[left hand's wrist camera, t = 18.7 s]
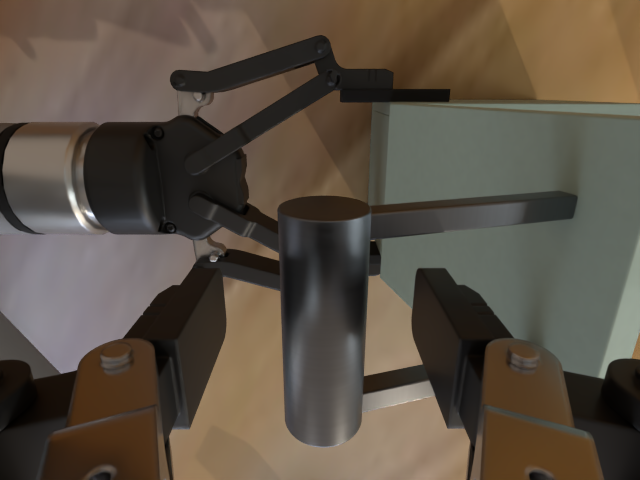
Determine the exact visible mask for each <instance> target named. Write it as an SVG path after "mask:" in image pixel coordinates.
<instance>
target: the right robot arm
mask: <svg viewBox="0 0 640 480" xmlns="http://www.w3.org/2000/svg"><path fill="white" fill-rule="evenodd" d="M313 63H315V65H316V68H317V71H318V74H319V75H318V76H316V77H315V78H313V79H311V80H310V81H308V82H307V83H305V84H303V85H302V86H300V87H299V88H297V89H295V90H294V91H292V92H291V93H289V94H288V95H286V96H284V97H283V98H281V99H280V100H278V101H276V102H275V103H273V104H272V105H270V106H268V107H267V108H265V109H264V110H262V111H261V112H259V113H257V114H256V115H254V116H253V117H251V118H249V119H248V120H246V121H245V122H243V123H241V124H240V125H238V126H236V127H235V128H233V129H231V130H230V131H228V132H227V133H225V134H223V133H222V132H220V131H219V130H218V129H216V128H215V127H213V126H212V125H210V124H209V123H208V122H206V121H205V120H203V119H202V118H201V117H199V116H198V112H199V109H200V108H201V107H203V106H206V105H209V104H211V103H212V102H213V99H214V93H218V92H225V91H229V90H232V89H235V88H239V87H242V86H245V85H248V84H251V83H254V82H257V81H260V80H263V79H266V78H270V77H273V76H276V75H279V74H282V73H285V72H288V71H291V70H294V69H297V68H301V67H304V66H307V65H310V64H313ZM170 82H171V85H172V86H173V88H174V89H176V90H177V95H178V113H179V116H177V117H175V118H174V119H172V120H170V121H168V122H106V123H104V124H102V125H99V124H97V123H94V122H31V123H18V124H16V123H0V235H1V234H91V235H99V234H105V233H108V232H111V233H113V234H179V235H182V236H185V237H187V238H189V239H191V240H193V244H194V250H195V256H196V263H195V264H194V266H193V268H219V269H220V270H221V272H222V277H229V278H233V279H236V280H240V281H244V282H248V283H252V284H255V285H259V286H263V287H267V288H271V289H275V290H278V291H280V263H279V261H277V260H274V259H270V258H266V257H263V256H259V255H255V254H251V253H248V252H244V251H240V250H235V249H226V247H225V246H224V245H223V244H222V243H217V242H215V241H213V240H212V239H211V238H210V235H212V234H213V233H214V232H216V231H217V230H219V229H220V228H221V227H225V228H226V229H228V230H230V231H232V232H234V233H236V234H238V235H240V236H242V237H249V238H251V239H253V240H255V241H257V242H259V243H261V244H263V245H264V246H266V247H268V248H270V249H272V250H274V251H276V252H278V253H279V234H278V222H277V221H276V220H274V219H272V218H270V217H268V216H266V215H265V214H263V213H261V212H260V211H259V209H257V208H256V207H254V206H252V205H251V204H249V203H247V200H248V198H249V192H248V185H247V182H246V179H245V172H246V167H247V159H246V154H244V152H243V150H242V149H241V147H243V146H244V145H246V144H247V143H249V142H251V141H252V140H254V139H255V138H257V137H259V136H260V135H262V134H264V133H265V132H267V131H268V130H270V129H272V128H273V127H275V126H276V125H278V124H280V123H281V122H283V121H285V120H286V119H288V118H289V117H291V116H293V115H294V114H296V113H298V112H299V111H301V110H302V109H304V108H306V107H307V106H309V105H310V104H312V103H314V102H315V101H317V100H319V99H320V98H322V97H323V96H325V95H327V94H328V93H330V92H332V91H333V90H340V102H449V97H450V89H393V72H391V71H389V70H386V69H344V68H342V67H340V66H339V65H338V64H337V63H336V61H335V58H334V55H333V52H332V49H331V45H330V42H329V39H328V38H326V37H325V36H322V35H319V36H315V37H312V38H309V39H306V40H303V41H300V42H297V43H294V44H291V45H288V46H285V47H282V48H279V49H276V50H272V51H269V52H266V53H263V54H260V55H257V56H254V57H251V58H248V59H245V60H242V61H239V62H236V63H233V64H230V65H227V66H224V67H221V68H218V69H215V70H212V71H209V72H203V71H187V70H176V71H174V72H173V73H172V74H171V77H170ZM193 268H192V269H193ZM380 271H381V255H380V252H379V250H378V247H377V244H376V241H370V254H369V275H368V276H376V275H379V274H380ZM1 360H21V361H24V362H26V363H28V364H29V366H30V368H31V371H32V374H33V378H34V379H38V378H43V377H48V376H53V375H58V374H61V373H60V372H59V371H58V370H57V369H56V368H55V367H54V366H53V365H52V364H51V363H50V362H49V361H48V360H47V359H46V358H45V357H44V356H43V355H42V354H41V353H40V352H39V351H38V350H37V349H36V348H35V347H34V346H33V345H32V344H31V343H30V342H29V340H28V339H27V338H26V337H25V336H24V335H23V334H22V333H21V332H20V331H19V330H18V329H17V328H16V327H15V326H14V325H13V324H12V323H11V322H10V321H9V320H8V319H7V318H6V317H5V316H4V315H3V314H2V313H1V312H0V361H1Z"/></svg>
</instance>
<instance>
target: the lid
mask: <svg viewBox="0 0 640 480" xmlns="http://www.w3.org/2000/svg"><path fill="white" fill-rule="evenodd" d="M278 234H279V263H280V291H281V319H282V348H283V376H284V405H285V422H286V426H287V428H288V430H289V431H290V433H291V434H292V435H293V436H294V437H295V438H296V439H298V440H299V441H301V442H303V443H305V444H307V445H311V446H315V447H332V446H337V445H340V444H342V443H345V442H346V441H348V440H350V439H351V438H352V437H353V436H354V435H355V434H356V433H357V431H358V430H359V428H360V425H361V421H362V413H363V412H367V411H371V410H376V409H380V408H384V407H389V406H393V405H398V404H402V403H406V402H411V401H415V400H419V399H424V398H428V397H433V396H435V394H434V391H433V389H432V386H431V383H430V381H429V378H428V375H427V373H426V370H425V368H424V365H423V364H422V365H417V366H413V367H408V368H403V369H398V370H393V371H388V372H383V373H378V374H373V375H368V376H364V360H365V339H366V318H367V297H368V275H369V254H370V240H377V239H382V254H381V271H380V278H381V279H382V280H383V281H384V282H385V283H386V284H387V285H388V286H389V287H390V288H391V289H392V290H393V291H394V292H395V293H396V294H397V295H398V296H399V297H401V298H402V299H403V300H404V301H405V302H406V303H407V304H408V305H409V306H410V307H411V308H413V297H414V286H415V276H416V271H417V269H418V268H446V270H447V271H448V272H449V274H450V275H451V277H452V278H453V279H454V281H455V282H456V284H457V285H466V286H468V287H469V288H471V289H472V290H474V291H476V292H477V293H479V294H480V295H481V297H482V298H483V299H484V300H485V302H486V303H487V306H489V307H490V308H491V309H492V310H493V312H494V315H496V316H497V317H498V318H499V319H500V321H501V322H502V323H503V324H504V326H505V327H506V328H507V330H508V331H509V332H510V333H511V335H512V336H513V337H514V338H516V339H522V340H526V341H529V342H532V343H535V344H537V345H540V346H542V347H544V348H545V349H547V350H549V351H550V352H551V353H553V354H554V355H555V356H556V357H557V358H558V359H559V361H560V362H561V365H562V369H563V371H567V372H572V373H577V374H582V375H587V376H592V377H597V378H603V379H604V378H605V374H606V371H607V368H608V365H609V363H610V362H612V361H614V360H617V359H623V358H629V359H631V357H632V354H633V351H634V348H635V345H636V342H637V338H638V335H639V332H640V116H632V115H613V114H595V113H577V112H558V111H540V110H521V109H503V108H485V107H466V106H448V105H429V104H411V103H391V104H390V117H389V134H388V151H387V168H386V185H385V202H384V205H373V206H369V205H368V204H367V203H365V202H362V201H360V200H357V199H352V198H347V197H339V196H309V197H301V198H296V199H292V200H288V201H286V202H284V203H282V204H280V205H279V207H278Z"/></svg>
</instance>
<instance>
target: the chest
mask: <svg viewBox="0 0 640 480" xmlns="http://www.w3.org/2000/svg"><path fill="white" fill-rule="evenodd" d="M391 103H411V104H429V105H448V106H466V107H485V108H503V109H521V110H540V111H558V112H577V113H595V114H613V115H632V116H640V103H613V102H586V101H558V100H449V102H372V119H371V142H370V165H369V188H368V205H369V206H373V205H384V202H385V185H386V168H387V151H388V134H389V117H390V104H391ZM375 241H376V244H377V247H378V250H379V252H380V255H381V254H382V239H377V240H375Z"/></svg>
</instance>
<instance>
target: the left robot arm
mask: <svg viewBox="0 0 640 480" xmlns="http://www.w3.org/2000/svg"><path fill="white" fill-rule="evenodd" d="M225 333H226V310H225V299H224V288H223V277H222V272H221V270H220V269H219V268H193V269H192V270H191V271H190V272H189V274H188V275H187V276H186V278H185V279H184V280H183V282H182V283H181V285H172V286H171V287H169V288H167V289H166V290H164V291H162V292H161V293H159V294H158V295H157V296H156V298H155V299H154V300H153V301H152V303H151V304H150V306H148V308H147V309H146V310H145V311H144V313H143V315H141V316H140V318H139V319H138V320H137V321H136V323H135V324H134V325H133V326H132V328H131V329H130V330H129V331H128V333H127V334H126V335H125V336H124V338H123V339H118V340H114V341H111V342H108V343H105V344H103V345H100V346H98V347H96V348H95V349H93V350H91V351H90V352H89V353H87V354H86V355H85V356H84V357H83V358H82V359H81V361H80V362H79V365H78V369H77V370H76V371H73V372H68V373H63V374H58V375H53V376H48V377H43V378H38V379H34V378H33V374H32V371H31V368H30V366H29V364H28V363H26V362H24V361H21V360H1V361H0V480H174V472H173V462H172V451H171V445H170V439H169V435H170V433H171V430H172V429H190V427H191V424H192V421H193V419H194V416H195V414H196V411H197V409H198V406H199V403H200V401H201V398H202V396H203V393H204V390H205V388H206V385H207V383H208V380H209V377H210V375H211V372H212V370H213V367H214V365H215V362H216V359H217V357H218V354H219V352H220V349H221V346H222V344H223V341H224V338H225ZM412 333H413V338H414V341H415V344H416V346H417V349H418V352H419V354H420V357H421V360H422V362H423V365H424V368H425V370H426V373H427V375H428V378H429V381H430V383H431V386H432V389H433V391H434V394H435V397H436V399H437V402H438V405H439V407H440V410H441V412H442V415H443V418H444V420H445V423H446V426H447V428H465V430H466V432H467V435H468V437H469V439H470V445H469V451H468V462H467V472H466V480H640V360H639V359H629V358H623V359H617V360H614V361H612V362H610V363H609V365H608V368H607V371H606V374H605V378H604V379H603V378H597V377H592V376H587V375H582V374H577V373H572V372H567V371H563V369H562V365H561V362H560V361H559V359H558V358H557V357H556V356H555V355H554V354H553V353H551V352H550V351H549V350H547V349H545V348H544V347H542V346H540V345H537V344H535V343H532V342H529V341H526V340H522V339H516V338H514V337H513V336H512V335H511V333H510V332H509V331H508V330H507V328H506V327H505V326H504V324H503V323H502V322H501V321H500V319H499V318H498V317H497V316H496V315H494V312H493V310H492V309H491V308H490V307H489V306H487V303H486V302H485V300H484V299H483V298H482V297H481V295H480V294H479V293H477V292H476V291H474V290H472V289H471V288H469V287H468V286H466V285H457V284H456V282H455V281H454V279H453V278H452V277H451V275H450V274H449V272H448V271H447V270H446V268H418V269H417V271H416V276H415V286H414V297H413V308H412Z"/></svg>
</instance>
